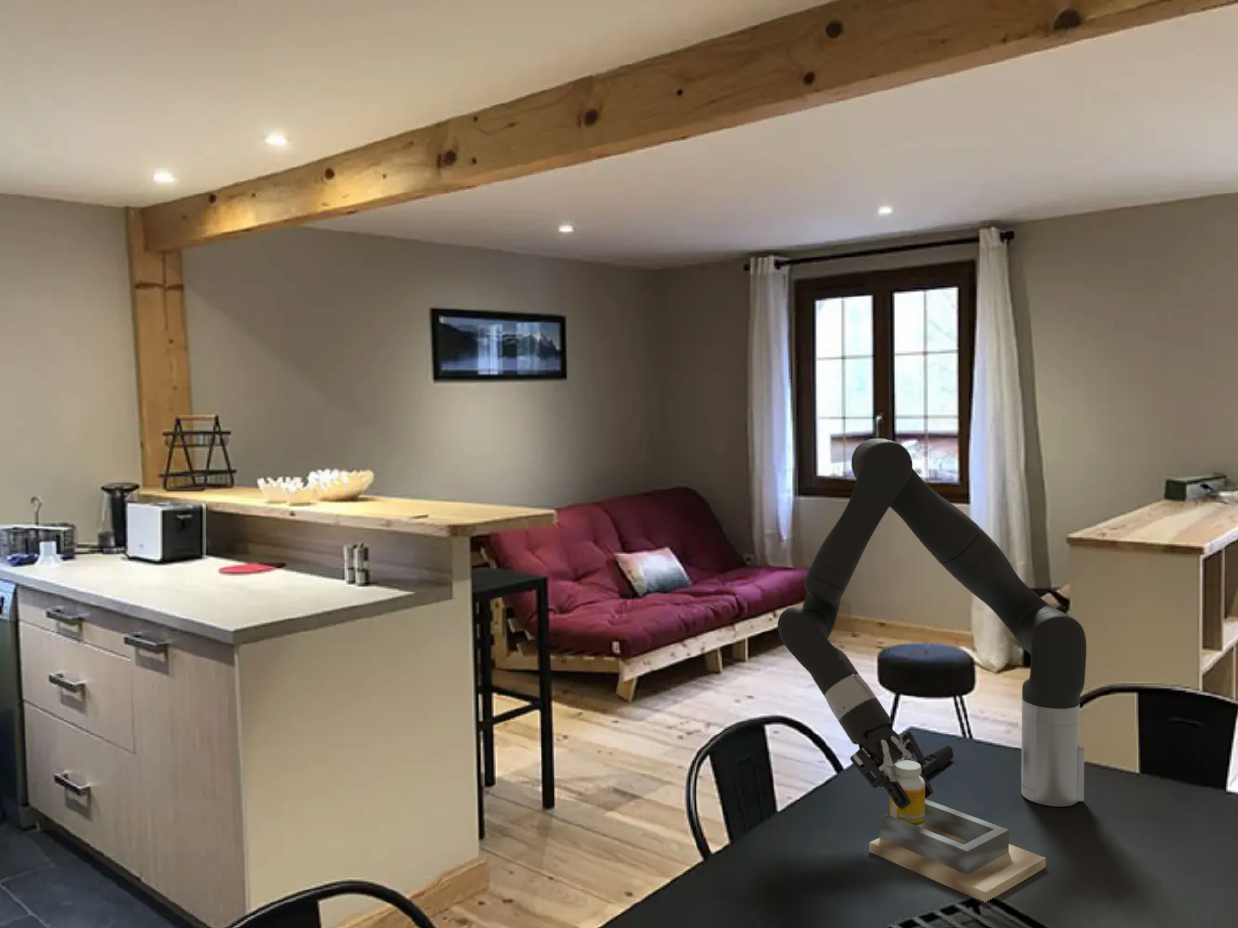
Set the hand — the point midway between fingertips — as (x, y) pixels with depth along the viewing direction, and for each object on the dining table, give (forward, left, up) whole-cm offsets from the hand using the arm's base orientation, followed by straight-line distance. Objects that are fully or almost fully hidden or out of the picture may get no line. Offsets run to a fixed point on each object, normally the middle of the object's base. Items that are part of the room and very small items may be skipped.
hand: (917, 800), depth 154 cm
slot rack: (-3, +6, -7) cm, 10 cm away
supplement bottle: (+1, -2, -4) cm, 5 cm away
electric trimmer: (-15, -28, -7) cm, 33 cm away
